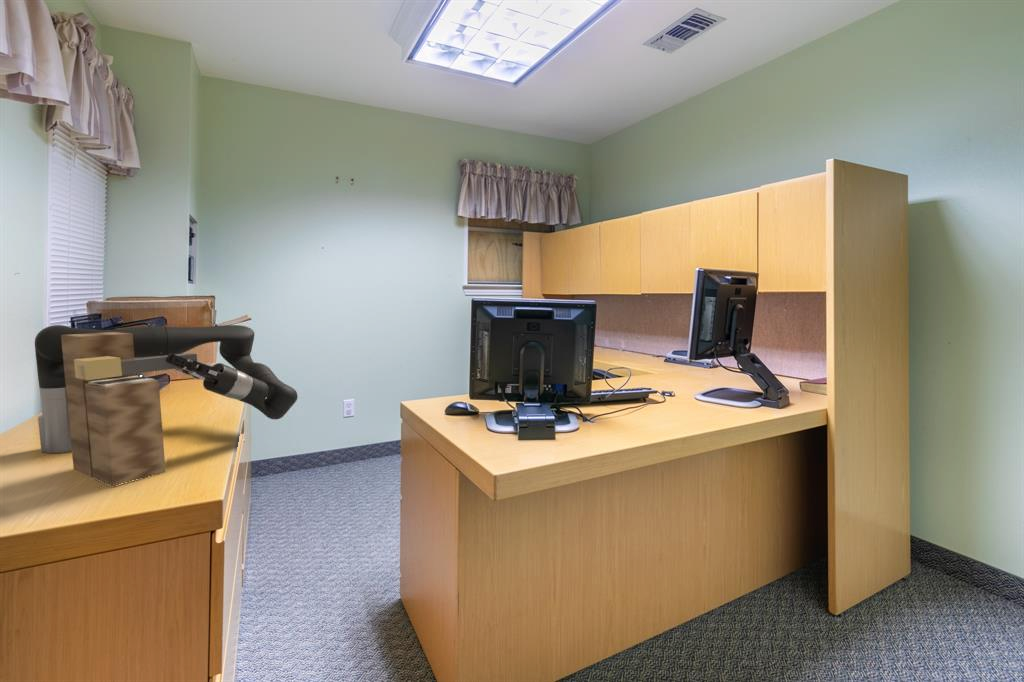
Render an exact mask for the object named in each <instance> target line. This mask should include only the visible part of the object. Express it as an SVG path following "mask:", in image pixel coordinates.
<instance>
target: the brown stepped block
mask: <svg viewBox="0 0 1024 682" xmlns="http://www.w3.org/2000/svg"><path fill="white" fill-rule="evenodd" d="M61 341H62V351H63V362H64V372H65V383H66V393H67V404H68V414H69V425H70V435H71V446H72V451H71V454H72V456H71V457H72V467H73V470H74V471H75V472H78V473H80V474H83V475H84V476H87V477H89V476H90V477H89V478H93V479H94V478H95V479H94V480H96V479H97V480H96V481H98V480H100V481H99V482H101V481H102V482H101V483H103V482H104V483H103V484H105V483H106V485H107V484H109V485H108V486H110V485H111V486H110V487H112V486H115V487H117V486H116V485H119V484H121V483H125V482H129V481H132V480H136V479H140V478H143V479H146V478H145V477H147V478H149V477H148V476H150V477H153V476H152V475H154V476H157V475H160V473H161V474H164V473H166V459H165V448H164V447H165V445H164V434H163V420H162V408H161V395H160V394H161V392H160V382H159V380H157V379H155V378H152V377H147V376H146V377H147V378H146V377H141V376H136V374H128V375H122V376H117V377H109V378H101V379H93V380H84V379H79V378H76V376H75V366H74V359H83V358H94V357H105V356H111V357H118V358H120V359H121V360H124V359H134V358H135V357H134V344H133V333H120V332H106V333H88V334H70V335H61ZM156 474H157V475H156ZM140 480H141V479H140ZM136 481H137V480H136ZM129 483H130V482H129ZM119 486H120V485H119Z"/></svg>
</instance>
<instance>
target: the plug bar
mask: <svg viewBox="0 0 1024 682" xmlns="http://www.w3.org/2000/svg"><path fill="white" fill-rule="evenodd" d="M174 355H177V356H179V357H182V358H184V359H186V360H187V359H190V360H191V361H198V355H197V353H193V352H192V353H190V352H184V353H182V354H174ZM167 356H168V355H164V356H154V357H144V358H134V359H124V360H121V359H120V358H118V357H111V356H105V357H94V358H83V359H74V366H75V376H76V378H79V379H84V380H93V379H101V378H109V377H117V376H122V375H128V374H136V373H143V374H144V373H151V372H159V371H168V370H175V369H176V368H181V367H178V366H176V365H173V364H170V363H168V362H166V359H167ZM182 367H183V366H182Z"/></svg>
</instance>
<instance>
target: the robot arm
mask: <svg viewBox="0 0 1024 682" xmlns="http://www.w3.org/2000/svg"><path fill="white" fill-rule="evenodd" d="M106 332H120V333H133V344H134V357H135V358H144V357H154V356H164V355H168V356H167V359H166V362H168V363H170V364H173V365H176V366H178V367H181V368H176V369H174V370H175V371H178V372H180V373H182V374H184V375H186V376H190V377H192V378H193V379H195V380H201V381H203V382H202V383H203V384H202V385H203V388H204V389H205V390H206V391H209V392H212V393H215V394H218V395H220V396H223V397H226V398H228V399H232V400H237V401H240V402H242V403H244V404H248V405H250V406H252V407H254V408H255V409H257V410H258V411H259V412H261V414H263V415H264V416H265V417H267V419H270V420H280V419H282V418H284V416H285V415H286V414H287V412H289V411H290V409H291V408H292V407H293V406H294V404H295V403H296V402H297V401H298V392H297V391H296V389H295V388H293V387H292V386H290V385H288V384H286V383H284V381H281V380H280V379H279V378H278V377H277V376H276V374H275V373H274V372H273V370H271V368H270V367H269V366H267V365H266V364H263V363H261V362H254V361H253V359H252V355H251V353H252V350H253V344H254V340H255V331H254V330H253V329H252V328H251V327H248V326H245V325H240V324H230V325H229V324H227V325H213V326H212V325H211V326H209V325H208V326H187V327H186V326H136V327H135V326H134V327H125V328H117V329H91V328H78V327H70V326H67V325H62V324H60V325H59V324H55V325H50V326H46V327H44V328H42V329H41V330H40V331H39V332H38V333H37V334H36V335H35V338H34V351H35V360H36V372H37V380H38V388H39V397H40V404H41V406H40V407H41V415H39V416H38V417H37V421H38V422H37V423H38V430H39V431H38V433H39V434H38V435H39V442H40V452H41V453H48V454H61V453H68V452H69V453H70V452H72V446H71V435H70V425H69V414H68V404H67V393H66V383H65V372H64V362H63V351H62V341H61V335H70V334H88V333H106ZM210 343H220V344H219V347H218V348H219V354H220V356H221V358H223V359H224V361H226V363H228V364H229V365H230V366H228V365H226V364H224V363H221V362H220V363H219V362H218V363H215V364H214V365H210V364H208V363H207V364H206V363H203V362H202V361H198V360H197V361H191V360H190V359H187V360H186V359H184V358H182V357H179V356H177V355H174V354H183V353H187V352H188V351H191V350H193V349H195V348H197V347H199V346H202V345H205V344H210ZM182 366H183V367H182Z"/></svg>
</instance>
